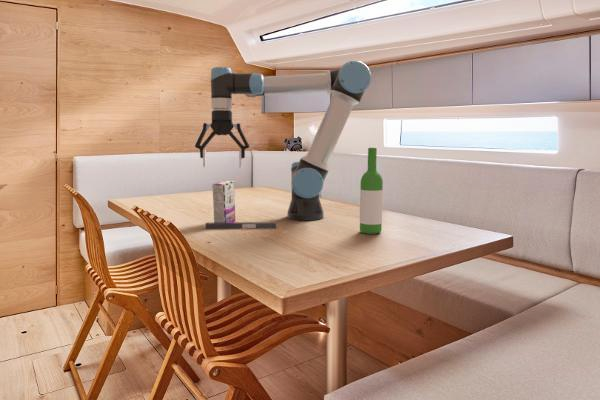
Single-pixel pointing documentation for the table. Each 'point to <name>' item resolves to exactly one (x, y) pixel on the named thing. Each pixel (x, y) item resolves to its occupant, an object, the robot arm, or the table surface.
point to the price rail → (240, 225)
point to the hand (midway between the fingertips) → (222, 167)
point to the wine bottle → (371, 197)
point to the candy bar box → (224, 201)
